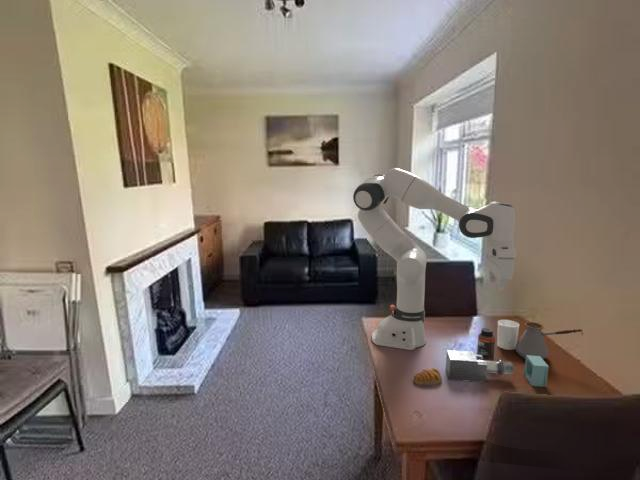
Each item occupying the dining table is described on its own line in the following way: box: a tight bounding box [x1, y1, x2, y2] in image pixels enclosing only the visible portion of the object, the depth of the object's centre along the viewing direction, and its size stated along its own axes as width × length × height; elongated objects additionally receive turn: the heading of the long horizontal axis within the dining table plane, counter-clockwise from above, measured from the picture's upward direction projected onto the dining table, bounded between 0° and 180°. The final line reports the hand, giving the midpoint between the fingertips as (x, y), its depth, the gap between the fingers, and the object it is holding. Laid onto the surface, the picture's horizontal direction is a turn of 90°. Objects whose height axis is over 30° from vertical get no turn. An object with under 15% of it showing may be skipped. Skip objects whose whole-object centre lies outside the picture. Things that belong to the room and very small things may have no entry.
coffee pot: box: [514, 321, 584, 360], centre depth 148 cm, size 21×12×15 cm, turn 53°
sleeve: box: [445, 349, 488, 383], centre depth 138 cm, size 12×7×7 cm, turn 82°
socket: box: [523, 355, 550, 388], centre depth 135 cm, size 4×7×7 cm, turn 172°
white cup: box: [496, 319, 520, 351], centre depth 160 cm, size 8×8×10 cm
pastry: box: [413, 368, 443, 386], centre depth 135 cm, size 9×7×4 cm
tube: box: [478, 358, 514, 376], centre depth 137 cm, size 19×5×5 cm, turn 82°
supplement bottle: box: [476, 327, 496, 361], centre depth 151 cm, size 6×6×11 cm
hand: (496, 285), depth 142 cm, fingers open, 8 cm apart
